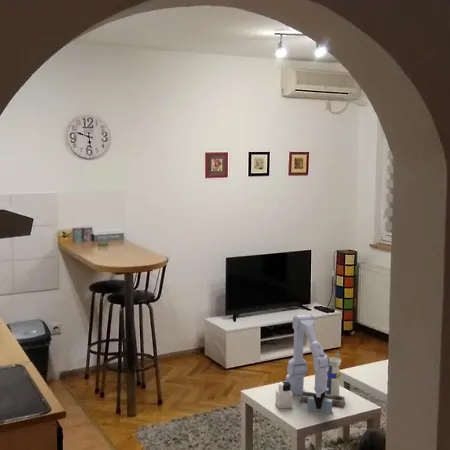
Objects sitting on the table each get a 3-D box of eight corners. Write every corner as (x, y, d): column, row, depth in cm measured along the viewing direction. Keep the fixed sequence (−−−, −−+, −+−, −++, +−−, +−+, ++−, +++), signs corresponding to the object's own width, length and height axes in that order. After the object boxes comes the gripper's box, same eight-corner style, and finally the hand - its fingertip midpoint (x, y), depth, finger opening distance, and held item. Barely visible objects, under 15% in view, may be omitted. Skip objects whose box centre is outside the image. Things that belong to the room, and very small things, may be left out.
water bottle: (343, 394, 325) (345, 349, 322) (334, 399, 319) (336, 352, 316) (330, 390, 331) (332, 345, 328) (321, 394, 325) (323, 349, 322)
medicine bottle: (288, 402, 314) (289, 379, 312) (292, 408, 307) (293, 385, 305) (275, 402, 312) (276, 380, 311) (278, 408, 305) (279, 385, 304)
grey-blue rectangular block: (307, 410, 305) (307, 398, 304) (307, 407, 308) (308, 396, 307) (331, 413, 301) (331, 401, 301) (331, 411, 304) (332, 399, 304)
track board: (299, 401, 314) (300, 396, 314) (302, 396, 322) (302, 390, 322) (343, 407, 308) (343, 402, 308) (344, 401, 316) (344, 396, 315)
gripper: (327, 385, 295) (325, 412, 296) (330, 375, 308) (329, 401, 310) (312, 383, 297) (311, 410, 298) (316, 373, 310) (315, 399, 312)
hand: (319, 405), depth 304 cm, fingers open, 7 cm apart
